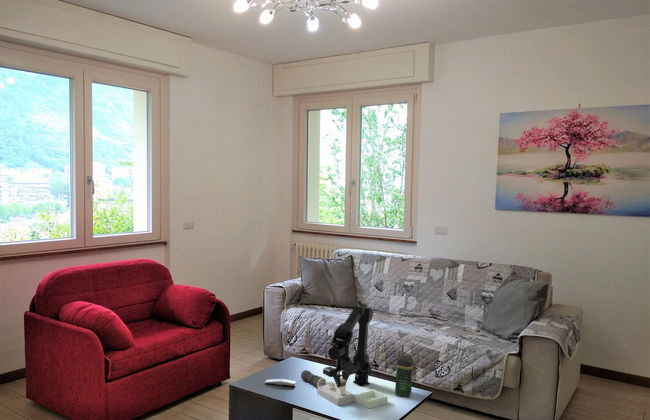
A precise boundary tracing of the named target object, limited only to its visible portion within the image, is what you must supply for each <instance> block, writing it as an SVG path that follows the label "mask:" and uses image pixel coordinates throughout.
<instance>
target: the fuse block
mask: <svg viewBox="0 0 650 420" xmlns="http://www.w3.org/2000/svg"><path fill="white" fill-rule="evenodd" d="M316 388H317V389H316V394H317V395H319V396H320V397H322V398H324V399H326V400H327V401H329V402H331V403H332V404H334V405H336V406H341V405H346V404H348V403H351V402H355V401H354V393H352V392H351V391H348V390H345V395H343V396H339V395H337V394H336V390H337V385H336V384H335V389H333V390H328V389H326V385H325V386H320V387H316Z"/></svg>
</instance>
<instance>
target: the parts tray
mask: <svg viewBox="0 0 650 420" xmlns="http://www.w3.org/2000/svg"><path fill="white" fill-rule="evenodd" d="M353 394H354V393H353ZM388 398H389V397H388V395H385V394H384V393H381V392H380V391H377V390H375V389H369V390H367V391H363V392H359V393H356V394H354V401H353V402H355V403H357V404H359V405H361V406H362V407H365V408H366V409H372V408H376V407H379V406H382V405H387V404H388Z"/></svg>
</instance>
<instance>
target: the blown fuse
mask: <svg viewBox="0 0 650 420" xmlns="http://www.w3.org/2000/svg"><path fill="white" fill-rule="evenodd" d="M346 387H347V383H346V380H345V379H343V378H342V377H340V387H339V388H338V387H337V390H336V394H337V395H339V396H343V395H345V390H346ZM346 391H347V390H346Z"/></svg>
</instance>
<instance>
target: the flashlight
mask: <svg viewBox="0 0 650 420" xmlns="http://www.w3.org/2000/svg"><path fill="white" fill-rule="evenodd" d="M300 378H301V380H302V381H304V382H308V383H309V384H311V385H312V386H314V387H315V388H317V387H320V386H325V385H326V383H327V380H326V378H325V377H323V376H322V377H321V376H319V375H317V374H316V375H315V374H313V373H312V372H311V371H309V370H307V369H304V370H303V371H301V374H300Z"/></svg>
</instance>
